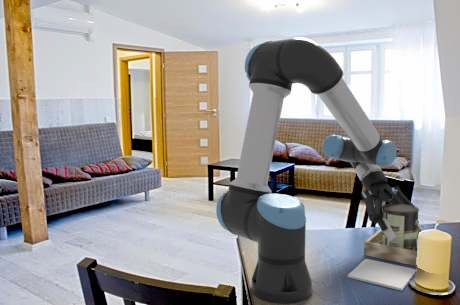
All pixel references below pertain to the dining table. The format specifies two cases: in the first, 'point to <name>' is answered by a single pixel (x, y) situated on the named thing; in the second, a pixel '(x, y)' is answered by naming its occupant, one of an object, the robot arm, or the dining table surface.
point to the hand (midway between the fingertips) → (406, 236)
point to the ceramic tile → (382, 274)
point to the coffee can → (401, 225)
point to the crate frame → (388, 250)
